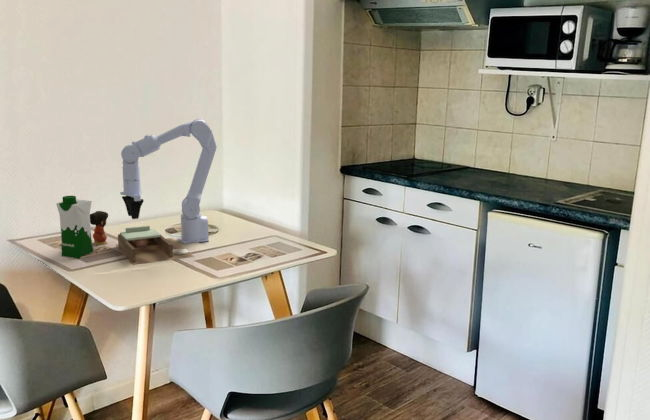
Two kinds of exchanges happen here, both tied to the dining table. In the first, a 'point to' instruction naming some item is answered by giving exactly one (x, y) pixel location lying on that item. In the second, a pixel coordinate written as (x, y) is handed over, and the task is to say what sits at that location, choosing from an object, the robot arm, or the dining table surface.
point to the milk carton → (75, 227)
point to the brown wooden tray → (152, 250)
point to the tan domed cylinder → (140, 243)
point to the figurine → (99, 227)
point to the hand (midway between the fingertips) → (133, 217)
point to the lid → (139, 233)
